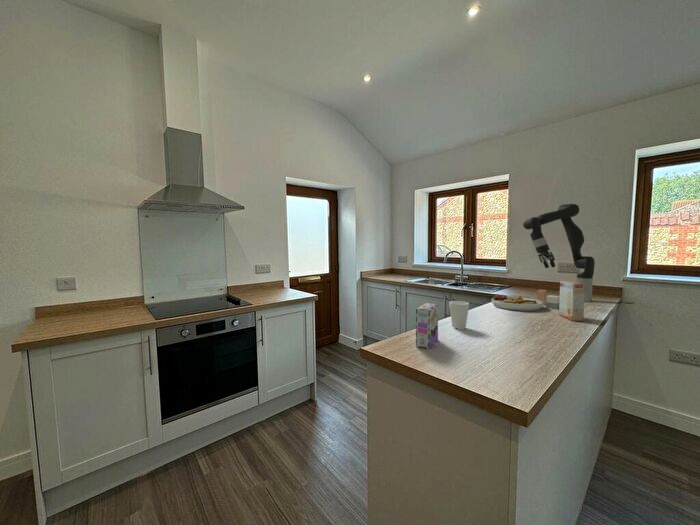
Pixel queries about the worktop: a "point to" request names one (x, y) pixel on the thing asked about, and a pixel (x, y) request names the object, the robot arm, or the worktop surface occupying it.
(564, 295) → the cracker box
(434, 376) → the worktop surface
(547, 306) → the tower base
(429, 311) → the candy box
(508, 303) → the bowl
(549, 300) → the tower top
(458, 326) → the foam cup
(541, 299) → the pillar
